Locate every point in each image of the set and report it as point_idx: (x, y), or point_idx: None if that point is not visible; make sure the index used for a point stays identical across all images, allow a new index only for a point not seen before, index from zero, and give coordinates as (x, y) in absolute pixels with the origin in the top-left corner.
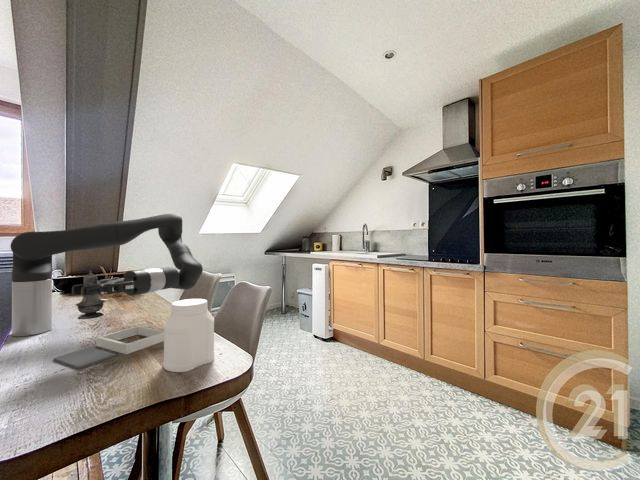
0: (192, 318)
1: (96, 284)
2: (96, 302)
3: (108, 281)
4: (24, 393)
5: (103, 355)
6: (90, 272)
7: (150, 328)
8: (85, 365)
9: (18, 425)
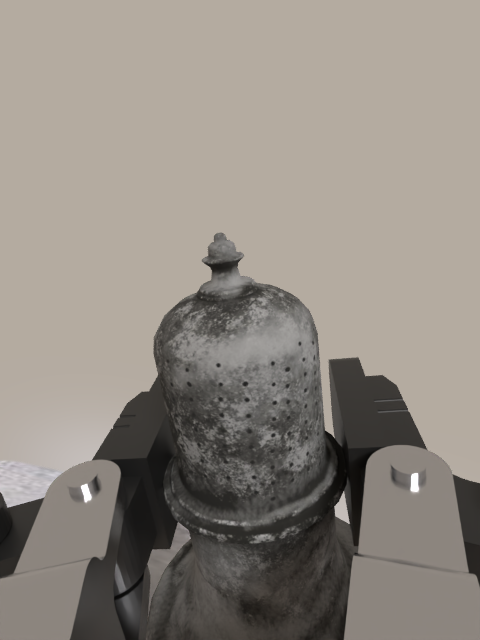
0: None
1: (178, 453)
2: (172, 598)
3: (79, 562)
4: (182, 527)
5: None
6: (205, 259)
7: None
8: None
9: None
